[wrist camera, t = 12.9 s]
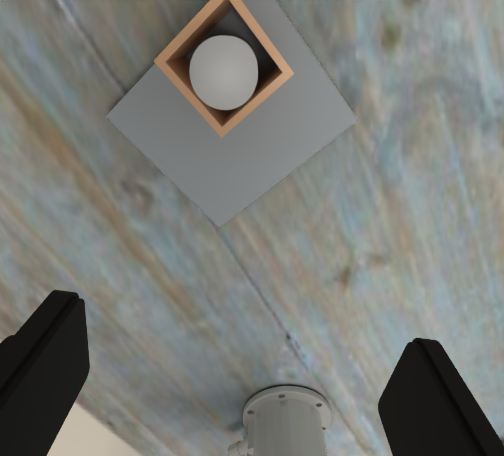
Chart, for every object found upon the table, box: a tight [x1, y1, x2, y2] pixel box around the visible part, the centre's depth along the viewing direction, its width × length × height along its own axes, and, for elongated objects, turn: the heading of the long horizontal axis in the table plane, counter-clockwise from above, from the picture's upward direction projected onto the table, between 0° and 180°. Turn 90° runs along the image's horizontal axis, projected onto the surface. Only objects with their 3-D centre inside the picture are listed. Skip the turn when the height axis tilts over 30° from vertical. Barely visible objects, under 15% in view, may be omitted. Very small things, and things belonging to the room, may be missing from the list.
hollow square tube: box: [154, 0, 294, 138], centre depth 24 cm, size 6×6×7 cm
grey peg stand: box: [105, 0, 358, 228], centre depth 25 cm, size 16×14×11 cm
